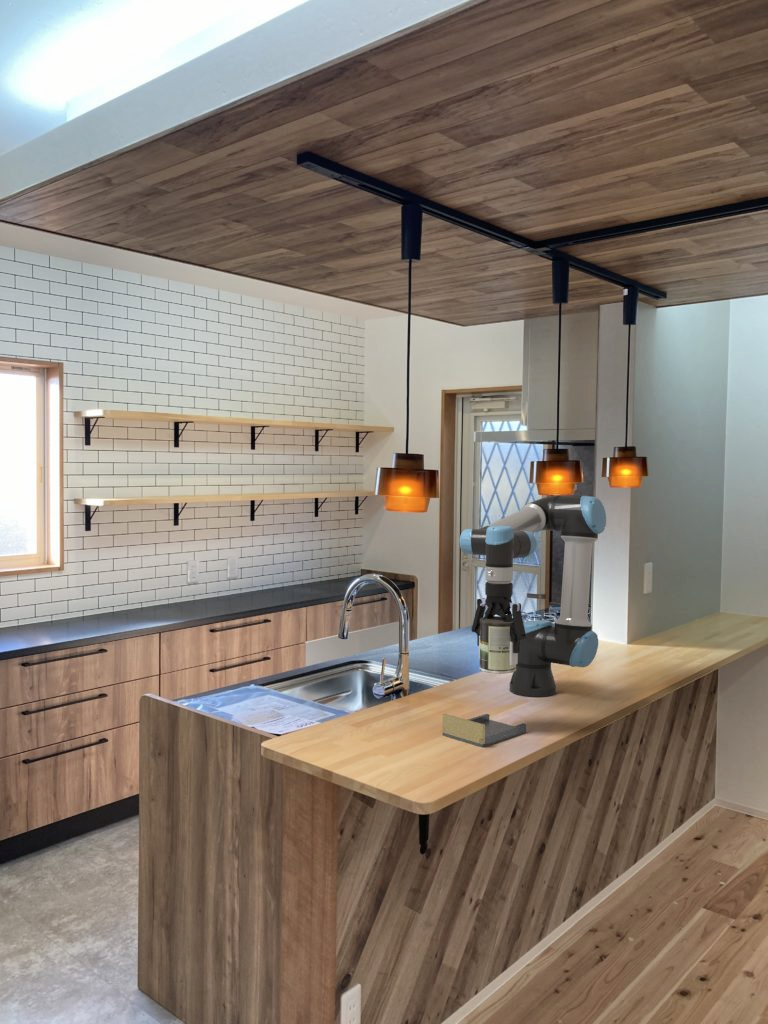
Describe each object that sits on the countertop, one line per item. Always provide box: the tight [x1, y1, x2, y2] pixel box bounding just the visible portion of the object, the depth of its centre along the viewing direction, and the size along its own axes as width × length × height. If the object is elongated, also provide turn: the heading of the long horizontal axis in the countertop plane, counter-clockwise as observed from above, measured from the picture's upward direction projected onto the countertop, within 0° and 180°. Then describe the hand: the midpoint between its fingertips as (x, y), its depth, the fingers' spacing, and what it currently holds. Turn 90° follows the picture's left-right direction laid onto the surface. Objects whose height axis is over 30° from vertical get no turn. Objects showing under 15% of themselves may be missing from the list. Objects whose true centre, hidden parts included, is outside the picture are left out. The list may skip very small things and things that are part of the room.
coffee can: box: [478, 615, 516, 675], centre depth 237 cm, size 10×10×14 cm
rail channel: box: [442, 713, 527, 748], centre depth 235 cm, size 19×14×6 cm
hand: (497, 661), depth 238 cm, fingers closed on coffee can, 10 cm apart
